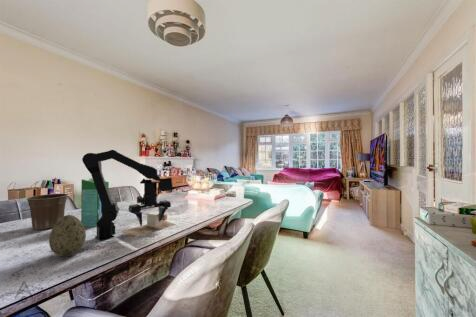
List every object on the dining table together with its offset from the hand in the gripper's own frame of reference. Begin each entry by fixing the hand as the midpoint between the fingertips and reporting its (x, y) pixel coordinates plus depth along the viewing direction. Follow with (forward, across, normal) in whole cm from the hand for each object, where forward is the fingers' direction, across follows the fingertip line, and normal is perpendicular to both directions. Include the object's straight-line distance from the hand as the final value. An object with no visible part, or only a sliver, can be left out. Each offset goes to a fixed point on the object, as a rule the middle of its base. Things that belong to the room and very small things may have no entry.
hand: (150, 223), depth 105 cm
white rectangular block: (+3, -5, -5) cm, 8 cm away
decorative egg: (+4, +32, +5) cm, 33 cm away
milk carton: (+4, +18, -32) cm, 38 cm away
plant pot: (+4, +38, -43) cm, 57 cm away
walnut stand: (+4, -1, -4) cm, 6 cm away
